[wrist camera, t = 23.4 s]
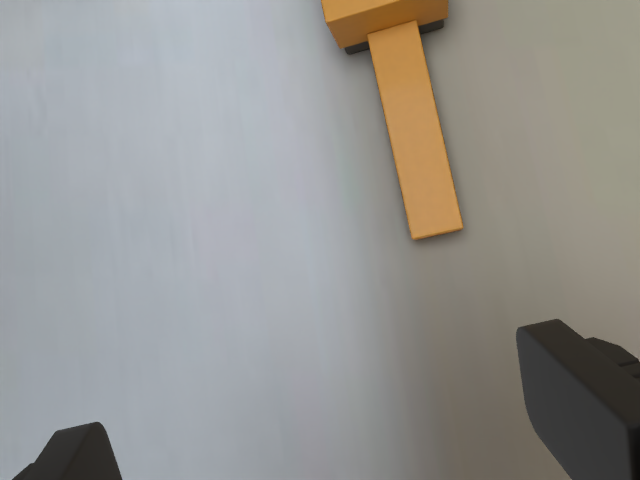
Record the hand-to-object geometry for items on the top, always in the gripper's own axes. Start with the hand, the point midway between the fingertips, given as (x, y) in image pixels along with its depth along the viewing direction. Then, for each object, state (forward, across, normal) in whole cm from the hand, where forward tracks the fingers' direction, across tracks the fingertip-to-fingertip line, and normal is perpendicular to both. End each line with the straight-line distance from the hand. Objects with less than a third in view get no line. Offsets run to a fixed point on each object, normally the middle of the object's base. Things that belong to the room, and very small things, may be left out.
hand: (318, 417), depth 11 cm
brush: (+21, -7, -6) cm, 23 cm away
